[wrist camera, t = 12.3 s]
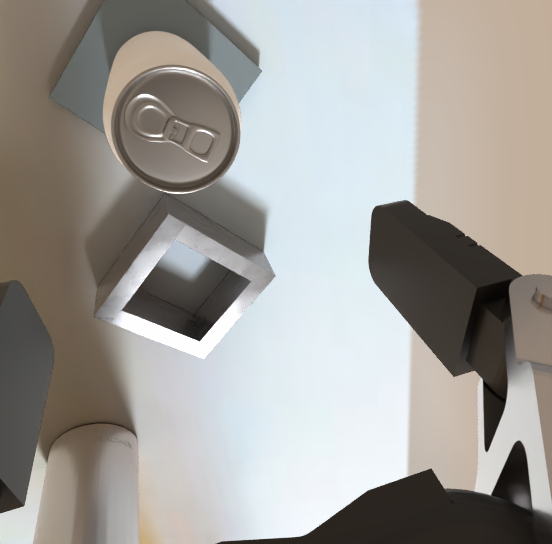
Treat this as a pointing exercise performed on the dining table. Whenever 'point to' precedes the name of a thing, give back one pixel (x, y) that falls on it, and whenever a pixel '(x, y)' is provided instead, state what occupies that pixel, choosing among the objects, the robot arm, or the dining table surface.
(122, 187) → the dining table surface
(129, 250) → the sleeve
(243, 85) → the mat
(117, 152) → the can
